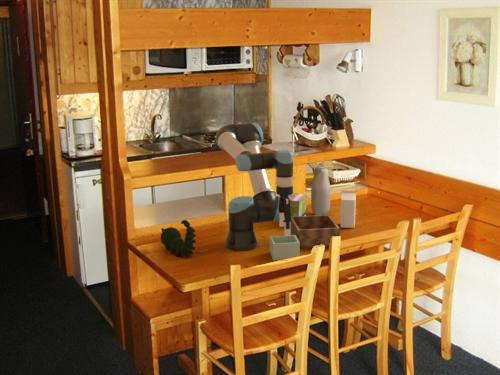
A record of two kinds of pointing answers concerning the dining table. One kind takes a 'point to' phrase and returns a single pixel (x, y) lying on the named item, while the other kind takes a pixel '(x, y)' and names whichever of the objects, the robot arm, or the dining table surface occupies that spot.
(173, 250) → the toy figurine
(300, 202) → the tea box
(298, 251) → the small green crate
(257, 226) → the dining table surface
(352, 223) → the milk carton
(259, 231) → the dining table surface
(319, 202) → the glass bottle
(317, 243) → the walnut crate
